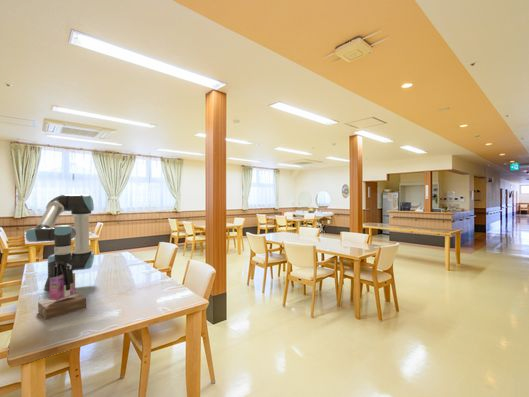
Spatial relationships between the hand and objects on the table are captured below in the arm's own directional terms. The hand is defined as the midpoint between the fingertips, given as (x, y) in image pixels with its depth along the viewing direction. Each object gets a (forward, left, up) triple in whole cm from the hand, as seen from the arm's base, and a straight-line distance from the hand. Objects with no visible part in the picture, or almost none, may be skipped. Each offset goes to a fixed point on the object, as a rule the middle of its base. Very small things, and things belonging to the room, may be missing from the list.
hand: (62, 294), depth 146 cm
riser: (0, 0, -9) cm, 9 cm away
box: (0, 0, -1) cm, 1 cm away
